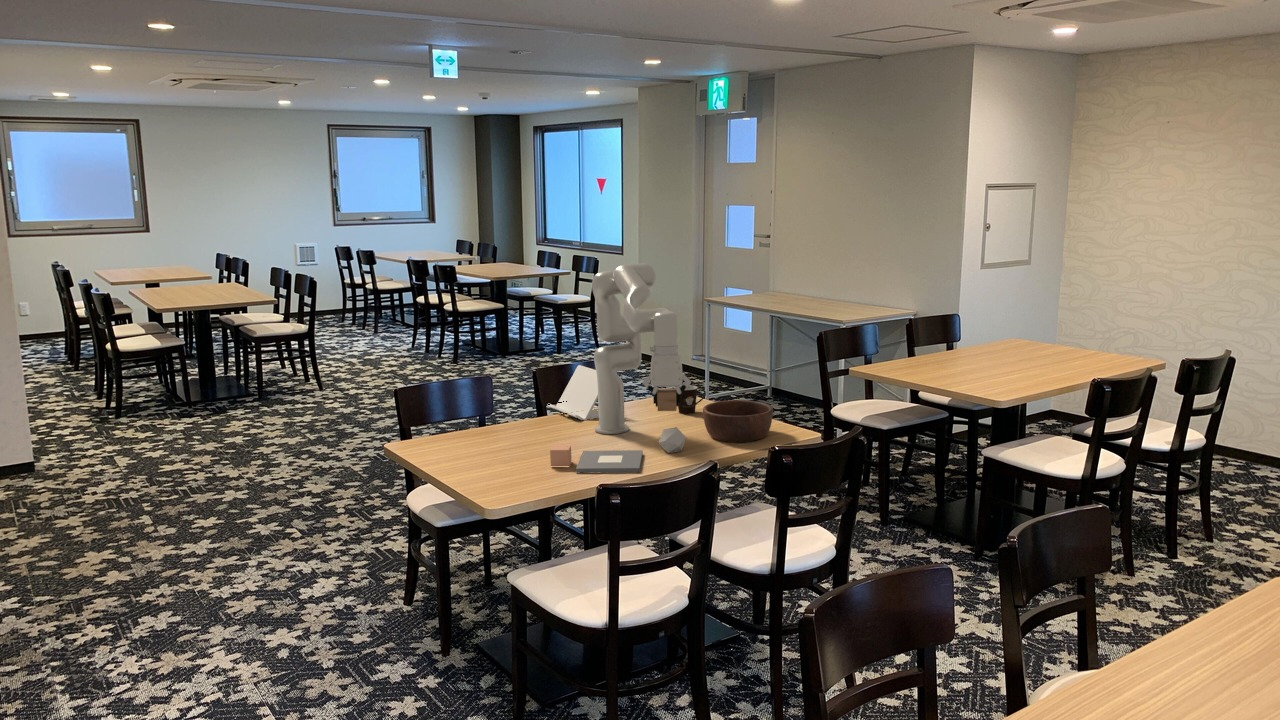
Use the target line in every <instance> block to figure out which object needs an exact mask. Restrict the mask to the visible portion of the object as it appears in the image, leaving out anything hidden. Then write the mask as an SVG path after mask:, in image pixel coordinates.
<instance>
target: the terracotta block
mask: <svg viewBox="0 0 1280 720" xmlns="http://www.w3.org/2000/svg"><path fill="white" fill-rule="evenodd" d="M549 455H550V467H551V466H571V465H570V463H571V461H573V460H572V445H571V444H553V445H552V446H551V447H550V450H549ZM571 464H572V463H571Z"/></svg>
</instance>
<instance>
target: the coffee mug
mask: <svg viewBox="0 0 1280 720" xmlns="http://www.w3.org/2000/svg"><path fill="white" fill-rule="evenodd" d="M681 386H682V385H680V387H681ZM700 392H703V396H702V398H700V399H699V400H698V401H697V395H698V393H700ZM676 393H677V390H676ZM706 395H707V392H706V390H704V389H702V388H701V389H700V388H699V389H698V386H696V385H691V384H690V385H689V386H688V387H686V389H685V390H684V391H683V392H682V393H681V403H679V406H677V407H678V408H677V409H678V413H679V414H680V415H693V414H695V413H696V406H697V405H699V403H701V402H702V401H703V400H704V399H705V397H706Z"/></svg>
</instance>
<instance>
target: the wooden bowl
mask: <svg viewBox="0 0 1280 720" xmlns="http://www.w3.org/2000/svg"><path fill="white" fill-rule="evenodd" d="M702 416H703V422H704V426H705V429H706V431H707V433H708V434H709V436H710V437H711V438H712V439H715V440H717V441H721V442H726V443H728V442H729V443H748V442H747V441H751V442H755V441H754V440H756V441H759V439H760V440H762V439H764V438H765V437H766V436H767V435H768V434H769V432H770V429H771V427H772V421H773V416H774V408H773V406H772V405H770V404H768V403H766V402H765V403H764V402H763V401H762V402H761V401H757V400H755V401H754V400H745V399H733V400H732V399H731V400H721V401H719V400H718V401H715V402H712V403H711V402H710V403H708V404H706V405H704V406H703V408H702Z"/></svg>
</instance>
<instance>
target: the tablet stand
mask: <svg viewBox="0 0 1280 720" xmlns="http://www.w3.org/2000/svg"><path fill="white" fill-rule="evenodd" d="M572 374H573V375H572V376H571V378H570V380H569V381H568V384H567V385H566V387H565V389H564V390H563V393H562V395H561V397H560V398H559V400H558V402H562V403H558V402H557V403H556V405H553V404H551V403H548V404H550V405H548V404H546V405H547V406H548V407H550V408H552V409H554V410H556V411H558V412H561V413H563V414H565V413H568V414H567V415H568V416H570V417H573V418H574V419H577V418H578V420H580V421H582V420H584V421H588V420H587V419H590V420H594V419H593V418H596V419H599V407H598V406H597V405H596V403H597V402H598V383H597V372H596V369H595V368H590V367H587V366H583V365H582V364H581V365H580V364H578V365H577V367H576V368H575V370H574V372H573V373H572ZM563 401H564V402H563ZM566 401H567V402H566ZM593 408H598V409H594V410H592V409H593ZM581 410H584V411H581ZM597 410H598V411H597ZM576 411H579V412H576ZM571 412H573V413H571Z"/></svg>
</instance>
